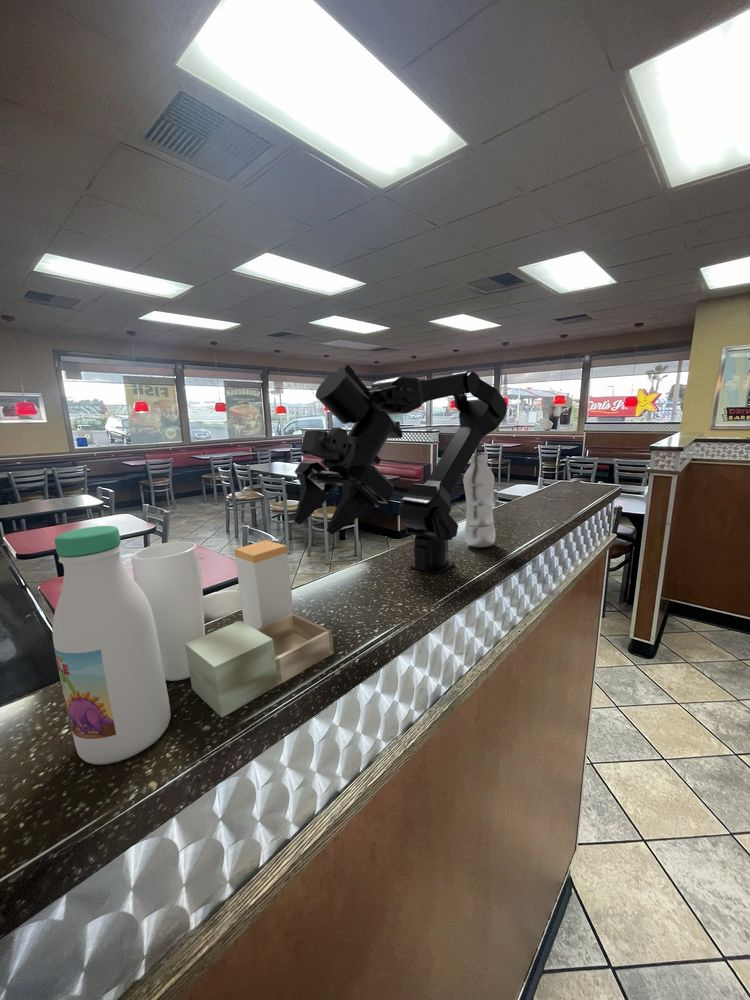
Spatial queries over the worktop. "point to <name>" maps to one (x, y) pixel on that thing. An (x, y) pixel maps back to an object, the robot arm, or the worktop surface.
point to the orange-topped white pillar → (264, 583)
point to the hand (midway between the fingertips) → (311, 527)
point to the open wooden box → (253, 659)
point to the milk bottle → (107, 650)
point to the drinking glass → (172, 599)
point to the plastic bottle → (479, 502)
